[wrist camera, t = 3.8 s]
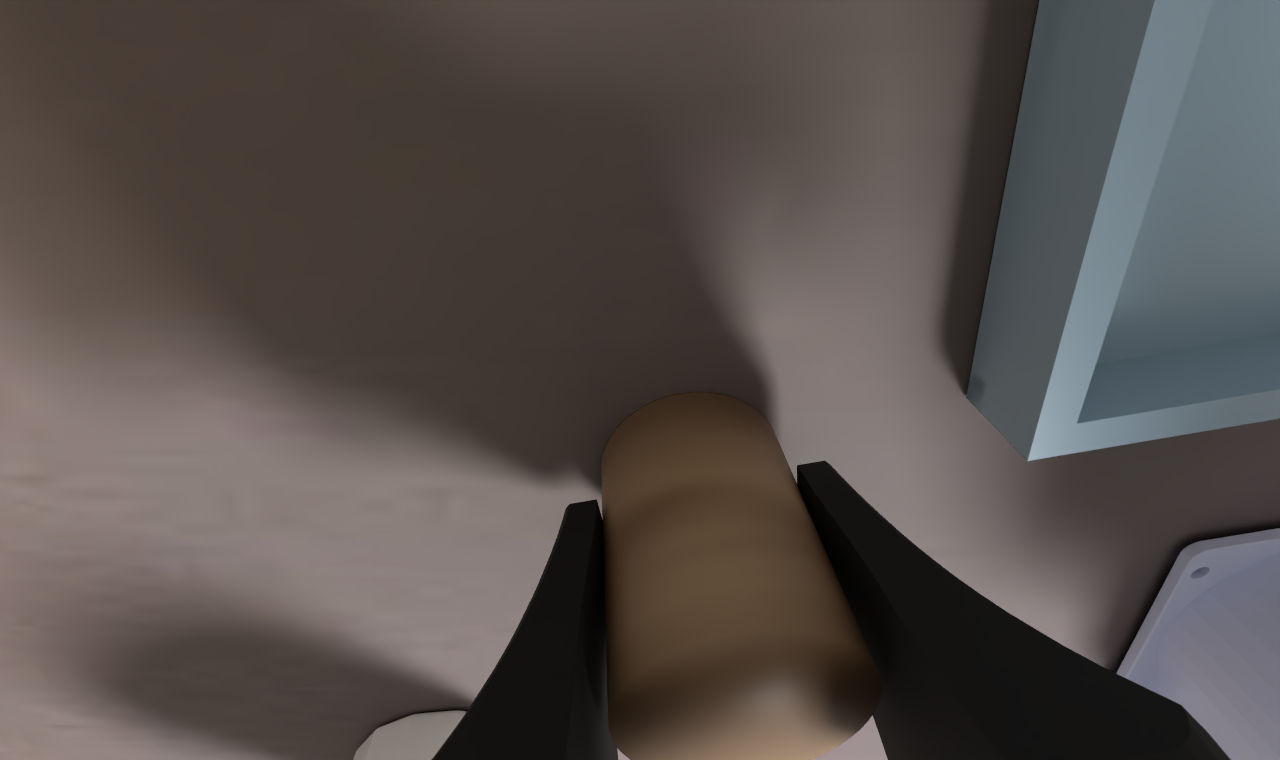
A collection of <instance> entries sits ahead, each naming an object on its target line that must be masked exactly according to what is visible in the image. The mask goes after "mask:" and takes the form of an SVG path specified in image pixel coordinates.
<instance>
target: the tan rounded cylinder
mask: <svg viewBox="0 0 1280 760" xmlns="http://www.w3.org/2000/svg"><path fill="white" fill-rule="evenodd" d="M601 478H602V515H603V550H604V589H605V626H606V663H607V700H608V728H609V732H610V736H611V738H612V740H613V742H614V744H615V745H616V746H617V748H618V749H619V750H620V751H621V752H622V753H623V754H624V755H625V756H627V757H628V758H629V759H631V760H812V759H814V758H816V757H818V756H820V755H823V754H825V753H827V752H828V751H830V750H832V749H834V748H836V747H837V746H839V745H840V744H842V743H843V742H845V741H846V740H848V739H849V738H851V737H852V736H853V735H854V734H855V733H856V732H858V731H859V730H860V729H861V728H862V727H863V726H864V725H865V724H866V723H867V722H868V720H869V719H870V717H871V716H872V715H873V713H874V712H875V710H876V708H877V706H878V704H879V701H880V697H881V693H882V682H881V679H880V675H879V672H878V670H877V667H876V665H875V663H874V660H873V658H872V656H871V654H870V651H869V649H868V647H867V644H866V642H865V640H864V637H863V635H862V633H861V631H860V628H859V626H858V624H857V621H856V619H855V617H854V614H853V612H852V610H851V607H850V605H849V603H848V601H847V598H846V596H845V594H844V591H843V589H842V587H841V584H840V582H839V580H838V578H837V575H836V573H835V571H834V568H833V566H832V564H831V561H830V559H829V557H828V555H827V552H826V550H825V548H824V545H823V543H822V541H821V538H820V536H819V534H818V532H817V529H816V527H815V525H814V522H813V520H812V518H811V515H810V513H809V511H808V509H807V506H806V504H805V502H804V499H803V497H802V495H801V492H800V490H799V488H798V486H797V483H796V481H795V479H794V476H793V474H792V472H791V469H790V467H789V465H788V462H787V460H786V458H785V456H784V453H783V451H782V449H781V446H780V444H779V442H778V439H777V437H776V435H775V433H774V431H773V429H772V427H771V425H770V424H769V422H768V421H767V420H766V418H765V417H764V416H763V415H762V414H761V413H760V412H759V411H757V410H756V409H755V408H753V407H752V406H750V405H749V404H747V403H745V402H743V401H741V400H739V399H736V398H733V397H730V396H727V395H722V394H718V393H709V392H690V393H682V394H677V395H672V396H668V397H665V398H662V399H659V400H656V401H654V402H652V403H650V404H647V405H645V406H643V407H642V408H640V409H639V410H637V411H635V412H634V413H633V414H631V415H630V416H629V417H628V418H626V419H625V420H624V421H623V422H622V423H621V424H620V425H619V426H618V427H617V429H616V430H615V431H614V433H613V434H612V435H611V437H610V439H609V441H608V443H607V444H606V447H605V450H604V453H603V457H602V463H601Z"/></svg>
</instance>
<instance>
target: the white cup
mask: <svg viewBox="0 0 1280 760" xmlns="http://www.w3.org/2000/svg"><path fill="white" fill-rule="evenodd" d="M466 712H467V711H460V710H455V711H442V712H430V713H420V714H413V715H410V716H407V717H405V718H402V719H399V720H397V721H394V722H391V723H389V724H386V725H384V726H381V727H379V728H377V729H376V730H375V731H374V732H373V733H372V734H371V735H370V736H369V737H368V738H367V739H366V740H365V742H364V743H363V744H362V745H361V746H360V747H359V748H358V749H357V751H356V753H355V756H354V759H353V760H432V758H433V757H434V756H435V754H436V753H437V752H438V750H439V749H440V748H441V746H442V745H443V744H444V742H445V741H446V740H447V738H448V737H449V736H450V734H451V733H452V732H453V730H454V729H455V728H456V726H457V725H458V723H459V722H460V721H461V719H462V718H463V716H464V715H465V713H466Z"/></svg>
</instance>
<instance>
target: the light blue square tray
mask: <svg viewBox="0 0 1280 760" xmlns="http://www.w3.org/2000/svg"><path fill="white" fill-rule="evenodd" d="M966 398H967V399H968V400H969V401H970V402H971V403H972V404H973V405H974V406H975V407H976V408H977V409H978V410H979V411H980V412H981V413H982V414H983V415H984V416H985V417H986V418H987V419H988V421H989V422H990V423H991V424H992V425H993V426H994V427H995V428H996V429H997V430H998V431H999V432H1000V433H1001V434H1002V435H1003V436H1004V437H1005V438H1006V439H1007V440H1008V441H1009V442H1010V443H1011V444H1012V445H1013V447H1014V448H1015V449H1016V450H1017V451H1018V452H1019V453H1020V454H1021V455H1022V456H1023V457H1024V458H1025V459H1026V460H1027V461H1031V460H1037V459H1043V458H1049V457H1055V456H1061V455H1067V454H1073V453H1079V452H1085V451H1091V450H1096V449H1102V448H1108V447H1114V446H1120V445H1126V444H1132V443H1138V442H1144V441H1150V440H1156V439H1162V438H1168V437H1174V436H1180V435H1186V434H1192V433H1198V432H1203V431H1209V430H1215V429H1221V428H1227V427H1233V426H1239V425H1245V424H1251V423H1257V422H1263V421H1269V420H1275V419H1280V0H1039V6H1038V11H1037V16H1036V22H1035V27H1034V33H1033V38H1032V44H1031V49H1030V54H1029V60H1028V65H1027V71H1026V76H1025V81H1024V87H1023V92H1022V98H1021V103H1020V109H1019V114H1018V119H1017V125H1016V130H1015V136H1014V141H1013V147H1012V152H1011V157H1010V163H1009V168H1008V174H1007V179H1006V184H1005V190H1004V195H1003V201H1002V206H1001V212H1000V217H999V222H998V228H997V233H996V239H995V244H994V250H993V255H992V260H991V266H990V271H989V277H988V282H987V288H986V293H985V298H984V304H983V309H982V315H981V320H980V325H979V331H978V336H977V342H976V347H975V353H974V358H973V363H972V369H971V374H970V380H969V385H968V391H967V396H966Z"/></svg>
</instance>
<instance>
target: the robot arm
mask: <svg viewBox="0 0 1280 760" xmlns="http://www.w3.org/2000/svg"><path fill="white" fill-rule="evenodd" d="M797 486H798V488H799V490H800V492H801V495H802V497H803V499H804V502H805V504H806V506H807V509H808V511H809V513H810V515H811V518H812V520H813V522H814V525H815V527H816V529H817V532H818V534H819V536H820V538H821V541H822V543H823V545H824V548H825V550H826V552H827V555H828V557H829V559H830V561H831V564H832V566H833V568H834V571H835V573H836V575H837V578H838V580H839V582H840V584H841V587H842V589H843V591H844V594H845V596H846V598H847V601H848V603H849V605H850V607H851V610H852V612H853V614H854V617H855V619H856V621H857V624H858V626H859V628H860V631H861V633H862V635H863V637H864V640H865V642H866V644H867V647H868V649H869V651H870V654H871V656H872V658H873V660H874V663H875V665H876V667H877V670H878V672H879V675H880V679H881V682H882V693H881V697H880V701H879V704H878V706H877V708H876V710H875V712H874V713H873V717H874V720H875V723H876V726H877V729H878V732H879V734H880V737H881V740H882V743H883V746H884V749H885V752H886V755H887V758H888V760H1280V528H1276V529H1270V530H1264V531H1258V532H1252V533H1246V534H1240V535H1234V536H1228V537H1221V538H1215V539H1209V540H1203V541H1198V542H1195V543H1192V544H1190V545H1188V546H1187V547H1185V548H1184V549H1183V550H1182V551H1181V552H1180V554H1179V555H1178V557H1177V559H1176V561H1175V563H1174V565H1173V567H1172V569H1171V571H1170V573H1169V574H1168V576H1167V578H1166V580H1165V582H1164V584H1163V586H1162V588H1161V590H1160V591H1159V593H1158V595H1157V597H1156V599H1155V601H1154V603H1153V605H1152V607H1151V609H1150V610H1149V612H1148V614H1147V616H1146V618H1145V620H1144V622H1143V624H1142V626H1141V627H1140V629H1139V631H1138V633H1137V635H1136V637H1135V639H1134V641H1133V643H1132V645H1131V646H1130V648H1129V650H1128V652H1127V654H1126V656H1125V658H1124V660H1123V662H1122V663H1121V665H1120V667H1119V669H1118V671H1117V673H1114V672H1112V671H1110V670H1108V669H1106V668H1104V667H1102V666H1100V665H1098V664H1096V663H1094V662H1093V661H1091V660H1089V659H1087V658H1085V657H1083V656H1081V655H1080V654H1078V653H1076V652H1074V651H1072V650H1070V649H1068V648H1067V647H1065V646H1063V645H1061V644H1059V643H1058V642H1056V641H1054V640H1053V639H1051V638H1049V637H1048V636H1046V635H1044V634H1043V633H1041V632H1039V631H1038V630H1036V629H1034V628H1033V627H1031V626H1029V625H1028V624H1026V623H1024V622H1023V621H1021V620H1019V619H1018V618H1016V617H1014V616H1013V615H1011V614H1009V613H1008V612H1006V611H1005V610H1003V609H1002V608H1000V607H999V606H997V605H996V604H994V603H993V602H991V601H990V600H988V599H987V598H985V597H984V596H982V595H981V594H979V593H978V592H976V591H975V590H974V589H972V588H971V587H969V586H968V585H966V584H965V583H964V582H962V581H961V580H959V579H958V578H957V577H955V576H954V575H953V574H951V573H950V572H949V571H947V570H946V569H945V568H943V567H942V566H941V565H939V564H938V563H937V562H936V561H934V560H933V559H932V558H931V557H929V556H928V555H927V554H926V553H924V552H923V551H922V550H921V549H919V548H918V547H917V546H916V545H915V544H913V543H912V542H911V541H910V540H909V539H907V538H906V537H905V536H904V535H903V534H902V533H900V532H899V531H898V530H897V529H896V528H895V527H894V526H893V525H892V524H890V523H889V522H888V521H887V520H886V519H885V518H884V517H883V516H881V515H880V514H879V513H878V512H877V511H876V510H875V509H874V508H873V507H872V506H871V505H870V504H869V503H867V502H866V501H865V500H864V499H863V498H862V497H861V496H860V495H859V494H858V493H857V492H856V491H855V490H854V489H853V488H852V487H851V486H850V485H849V484H848V483H847V482H846V481H845V480H844V479H843V478H842V477H841V476H840V475H839V474H838V472H837V471H836V470H835V469H834V468H833V467H832V466H831V465H830V464H829V463H827V462H826V461H821V462H815V463H809V464H803V465H797ZM432 760H618V753H617V746H616V745H615V744H614V742H613V740H612V738H611V736H610V732H609V728H608V700H607V663H606V626H605V589H604V550H603V520H602V517H601V513H600V510H599V506H598V502H597V500H591V501H585V502H579V503H573V504H569V506H568V507H567V508H566V510H565V514H564V517H563V520H562V524H561V527H560V530H559V533H558V536H557V538H556V541H555V544H554V547H553V549H552V552H551V555H550V557H549V560H548V562H547V564H546V567H545V569H544V572H543V574H542V576H541V579H540V581H539V584H538V586H537V588H536V590H535V593H534V595H533V597H532V599H531V601H530V603H529V605H528V607H527V609H526V611H525V613H524V615H523V617H522V619H521V621H520V624H519V626H518V627H517V629H516V631H515V633H514V635H513V637H512V639H511V641H510V642H509V644H508V646H507V648H506V650H505V651H504V653H503V655H502V657H501V658H500V660H499V662H498V663H497V665H496V667H495V669H494V670H493V672H492V673H491V675H490V677H489V678H488V680H487V681H486V683H485V684H484V686H483V688H482V689H481V691H480V692H479V694H478V695H477V697H476V699H475V700H474V702H473V703H472V705H471V706H470V708H469V709H468V711H467V712H466V713H465V715H464V716H463V718H462V719H461V721H460V722H459V723H458V725H457V726H456V728H455V729H454V730H453V732H452V733H451V734H450V736H449V737H448V738H447V740H446V741H445V742H444V744H443V745H442V746H441V748H440V749H439V750H438V752H437V753H436V754H435V756H434V757H433V758H432Z"/></svg>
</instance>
